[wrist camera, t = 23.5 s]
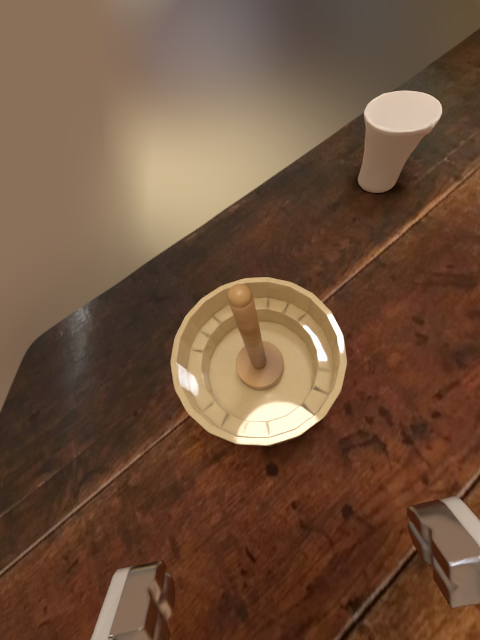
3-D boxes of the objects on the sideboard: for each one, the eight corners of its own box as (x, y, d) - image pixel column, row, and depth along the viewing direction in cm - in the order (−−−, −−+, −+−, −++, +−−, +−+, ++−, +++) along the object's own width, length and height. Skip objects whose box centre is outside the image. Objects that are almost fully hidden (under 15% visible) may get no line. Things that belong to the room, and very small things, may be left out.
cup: (374, 210, 39) (400, 139, 30) (336, 176, 43) (349, 106, 34) (425, 185, 39) (465, 108, 31) (382, 155, 44) (407, 79, 35)
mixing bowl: (277, 484, 26) (275, 494, 19) (166, 384, 32) (138, 367, 26) (360, 354, 30) (380, 329, 24) (248, 288, 36) (240, 254, 30)
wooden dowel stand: (265, 400, 29) (245, 347, 14) (229, 372, 31) (178, 300, 16) (292, 362, 30) (299, 278, 15) (256, 338, 32) (231, 243, 17)
